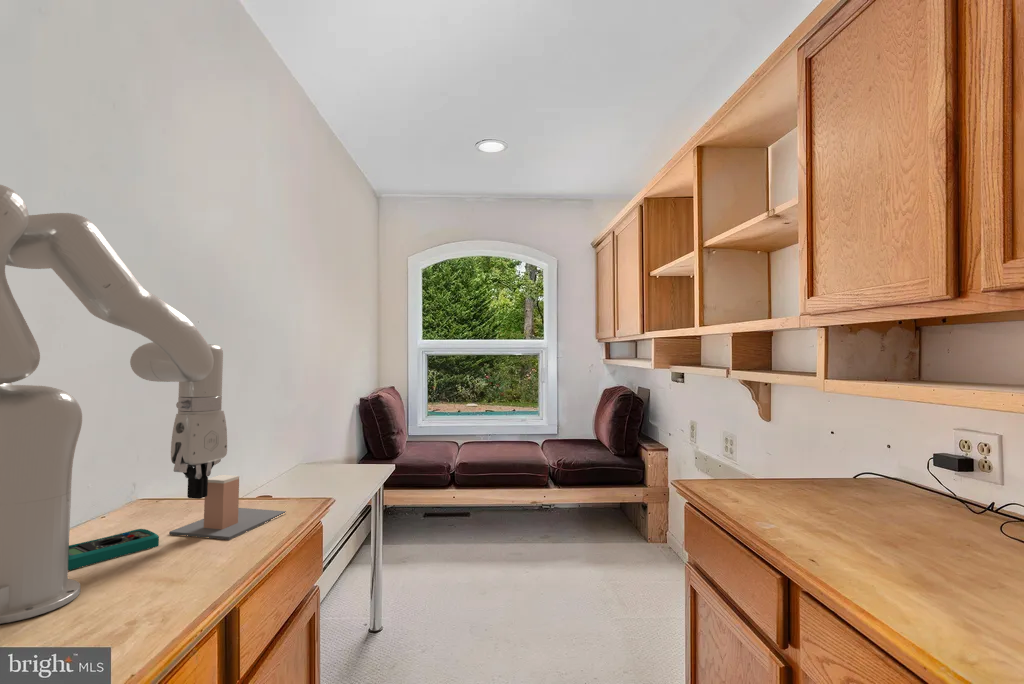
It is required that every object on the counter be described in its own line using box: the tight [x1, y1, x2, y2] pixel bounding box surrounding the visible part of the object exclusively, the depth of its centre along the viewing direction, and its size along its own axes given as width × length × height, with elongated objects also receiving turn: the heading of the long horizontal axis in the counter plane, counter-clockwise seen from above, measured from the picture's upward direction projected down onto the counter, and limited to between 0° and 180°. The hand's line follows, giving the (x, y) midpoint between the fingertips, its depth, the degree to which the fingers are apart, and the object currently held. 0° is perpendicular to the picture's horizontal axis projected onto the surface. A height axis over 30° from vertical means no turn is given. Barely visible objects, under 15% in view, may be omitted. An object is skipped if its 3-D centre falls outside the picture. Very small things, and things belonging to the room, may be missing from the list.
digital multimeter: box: [68, 528, 160, 571], centre depth 95 cm, size 7×15×3 cm, turn 149°
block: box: [203, 474, 240, 529], centre depth 110 cm, size 4×4×10 cm
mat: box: [169, 507, 287, 541], centre depth 113 cm, size 18×14×1 cm
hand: (197, 497), depth 103 cm, fingers closed
